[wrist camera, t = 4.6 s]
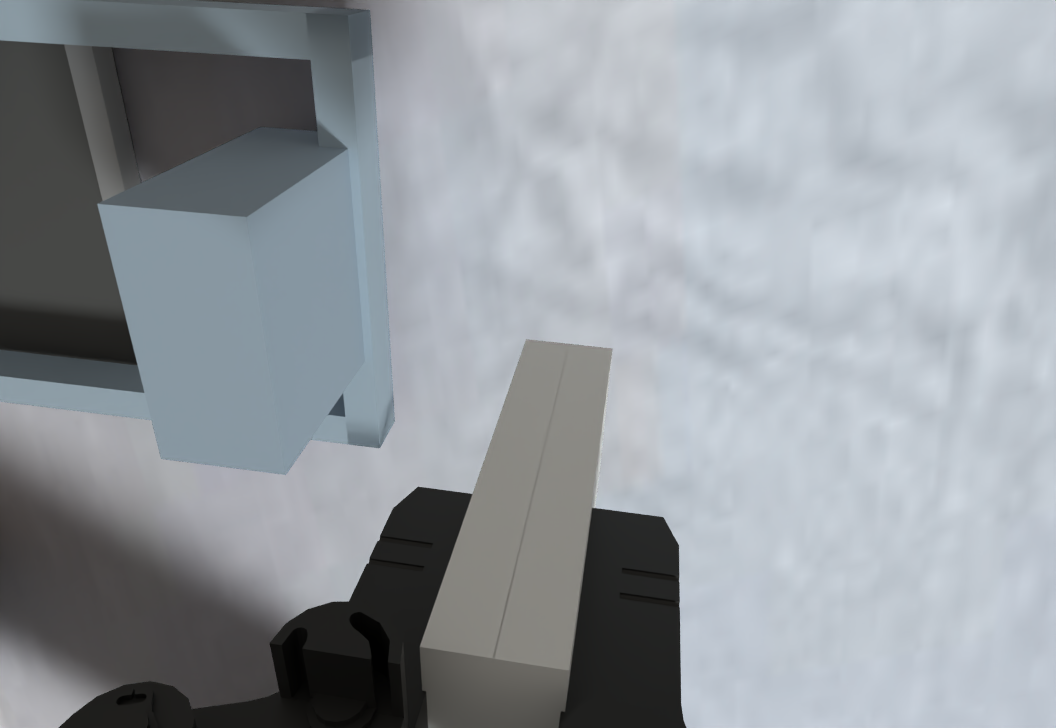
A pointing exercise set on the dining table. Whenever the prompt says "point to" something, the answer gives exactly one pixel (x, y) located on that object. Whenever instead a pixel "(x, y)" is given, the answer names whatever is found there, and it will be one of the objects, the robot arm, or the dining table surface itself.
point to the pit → (61, 200)
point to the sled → (238, 251)
